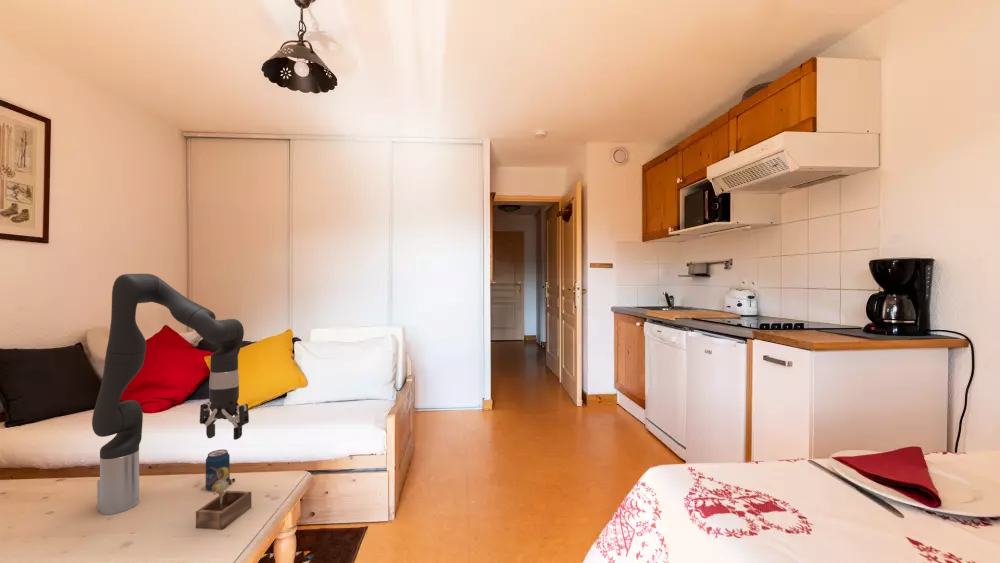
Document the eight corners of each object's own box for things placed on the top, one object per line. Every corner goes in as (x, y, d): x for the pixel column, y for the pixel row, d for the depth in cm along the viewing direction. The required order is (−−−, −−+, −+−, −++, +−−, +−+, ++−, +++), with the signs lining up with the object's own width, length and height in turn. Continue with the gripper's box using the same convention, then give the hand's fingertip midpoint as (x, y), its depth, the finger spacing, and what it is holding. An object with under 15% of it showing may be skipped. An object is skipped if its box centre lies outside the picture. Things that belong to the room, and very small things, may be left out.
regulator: (219, 523, 122) (219, 472, 122) (208, 521, 123) (208, 471, 123) (240, 509, 129) (240, 461, 129) (229, 508, 130) (229, 460, 130)
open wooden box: (195, 528, 120) (195, 511, 120) (226, 505, 132) (226, 490, 132) (222, 530, 120) (222, 513, 120) (251, 507, 132) (251, 491, 132)
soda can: (200, 490, 142) (200, 456, 142) (217, 481, 149) (217, 447, 148) (218, 492, 141) (218, 457, 140) (234, 482, 147) (234, 449, 147)
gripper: (192, 387, 123) (192, 441, 123) (237, 389, 122) (237, 444, 122) (212, 381, 130) (212, 432, 130) (254, 382, 129) (254, 434, 129)
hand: (224, 438), depth 126 cm, fingers open, 8 cm apart
